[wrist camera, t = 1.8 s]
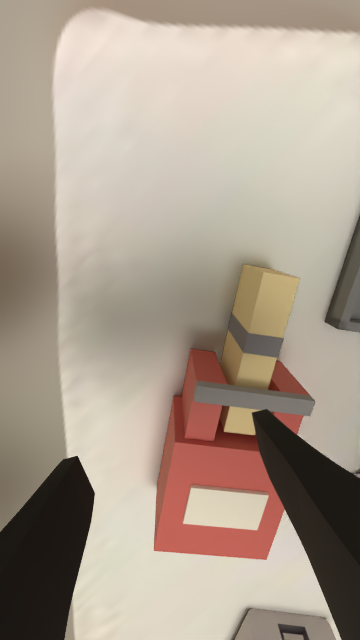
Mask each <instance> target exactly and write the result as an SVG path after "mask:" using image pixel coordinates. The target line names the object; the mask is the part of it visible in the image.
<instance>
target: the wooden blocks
mask: <svg viewBox="0 0 360 640" xmlns="http://www.w3.org/2000/svg"><path fill="white" fill-rule="evenodd" d="M299 280H300V278H297V277H294V276H291V275H288V274H285V273H282V272H279V271H276V270H273V269H268V268H262V267H256V266H250V265H244V264H243V267H242V272H241V276H240V280H239V285H238V289H237V294H236V298H235V302H234V307H233V311H232V313H231V318H230V322H229V327H228V333H227V337H226V342H225V346H224V350H223V355H222V359H221V363H220V367H221V369H222V372H223V374H224V377H225V380H226V382H227V385H235V386H242V387H250V388H257V389H265V390H268V387H269V384H270V380H271V377H272V373H273V370H274V366H275V363H276V360H277V358H278V356H279V352H280V349H281V345H282V342H283V339H284V338H283V335H284V332H285V329H286V325H287V322H288V318H289V315H290V311H291V308H292V304H293V301H294V298H295V294H296V291H297V287H298V284H299ZM256 411H260V410H256V409H248V408H240V407H232V406H224V405H222V409H221V413H220V420H221V424H222V427H223V431H224V432H231V433H240V434H248V435H255V427H254V422H253V418H252V412H256Z"/></svg>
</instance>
